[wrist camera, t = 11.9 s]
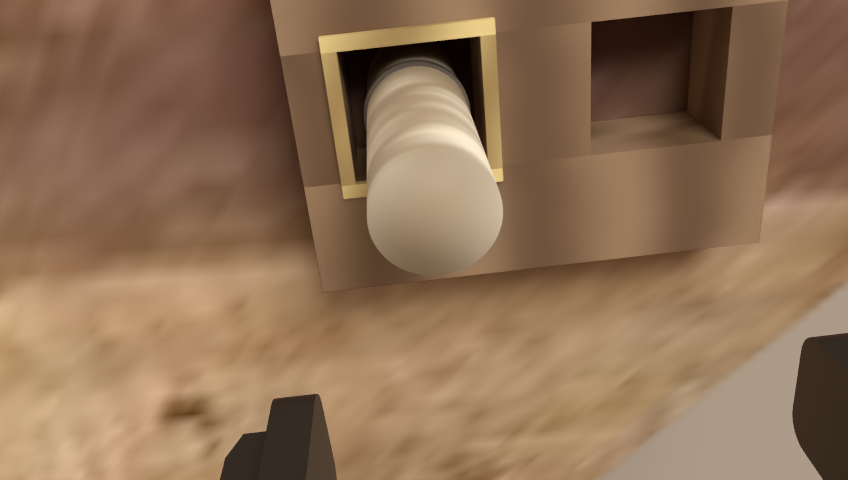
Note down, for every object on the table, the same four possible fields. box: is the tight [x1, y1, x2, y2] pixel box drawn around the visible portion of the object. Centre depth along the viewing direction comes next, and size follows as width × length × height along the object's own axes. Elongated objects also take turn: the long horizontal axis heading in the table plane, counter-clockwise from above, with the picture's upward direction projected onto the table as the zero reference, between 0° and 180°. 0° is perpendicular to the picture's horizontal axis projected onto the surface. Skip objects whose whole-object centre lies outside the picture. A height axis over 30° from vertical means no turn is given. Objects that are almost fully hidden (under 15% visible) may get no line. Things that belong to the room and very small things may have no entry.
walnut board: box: [270, 0, 788, 292], centre depth 33 cm, size 20×16×4 cm
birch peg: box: [364, 42, 503, 276], centre depth 29 cm, size 4×4×14 cm
